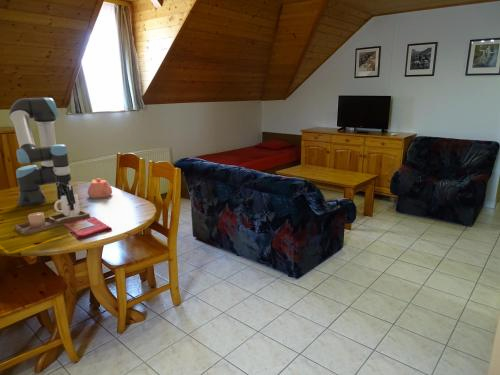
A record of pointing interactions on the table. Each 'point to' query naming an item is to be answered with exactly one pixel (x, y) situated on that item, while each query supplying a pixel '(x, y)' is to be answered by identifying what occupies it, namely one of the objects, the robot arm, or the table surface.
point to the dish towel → (89, 228)
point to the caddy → (51, 222)
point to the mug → (65, 206)
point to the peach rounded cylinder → (36, 220)
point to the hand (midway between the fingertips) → (68, 213)
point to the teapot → (99, 189)
